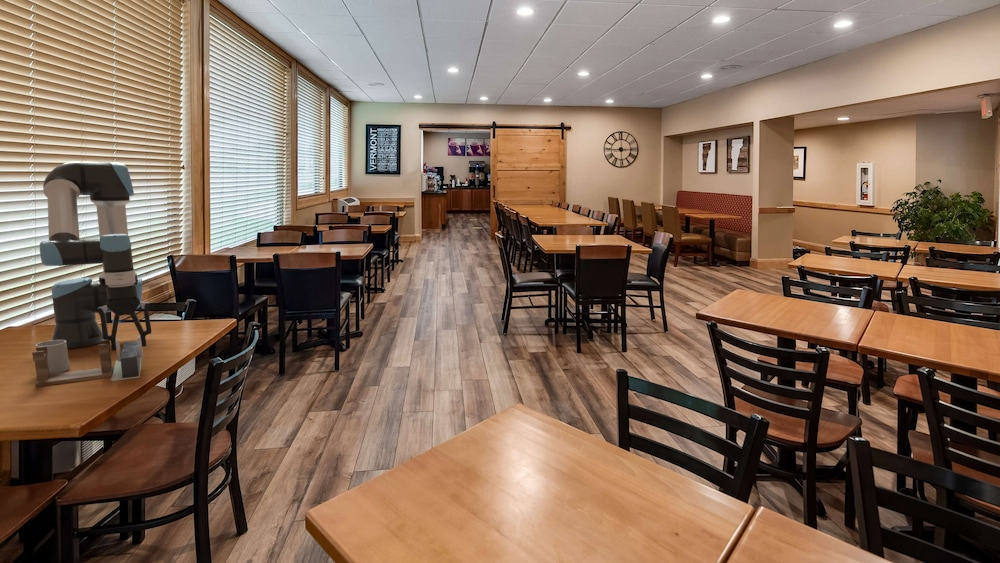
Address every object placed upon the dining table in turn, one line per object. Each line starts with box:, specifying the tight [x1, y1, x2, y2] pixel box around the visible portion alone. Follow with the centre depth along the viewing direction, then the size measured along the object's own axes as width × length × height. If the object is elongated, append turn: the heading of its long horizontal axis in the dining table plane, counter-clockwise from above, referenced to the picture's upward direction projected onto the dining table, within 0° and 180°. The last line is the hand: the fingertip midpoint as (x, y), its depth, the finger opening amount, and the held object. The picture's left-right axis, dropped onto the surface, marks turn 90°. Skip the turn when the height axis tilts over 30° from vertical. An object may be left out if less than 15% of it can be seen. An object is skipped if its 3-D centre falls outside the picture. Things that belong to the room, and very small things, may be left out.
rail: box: [121, 340, 140, 378], centre depth 170 cm, size 4×20×6 cm, turn 32°
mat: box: [110, 358, 143, 382], centre depth 171 cm, size 22×7×1 cm, turn 32°
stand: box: [31, 340, 114, 388], centre depth 162 cm, size 8×18×10 cm, turn 122°
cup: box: [35, 339, 70, 374], centre depth 168 cm, size 7×10×9 cm
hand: (131, 358), depth 170 cm, fingers open, 5 cm apart
